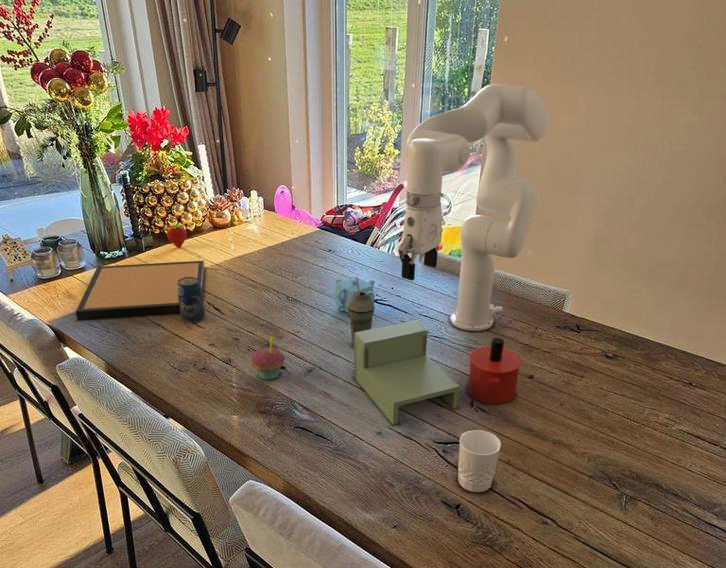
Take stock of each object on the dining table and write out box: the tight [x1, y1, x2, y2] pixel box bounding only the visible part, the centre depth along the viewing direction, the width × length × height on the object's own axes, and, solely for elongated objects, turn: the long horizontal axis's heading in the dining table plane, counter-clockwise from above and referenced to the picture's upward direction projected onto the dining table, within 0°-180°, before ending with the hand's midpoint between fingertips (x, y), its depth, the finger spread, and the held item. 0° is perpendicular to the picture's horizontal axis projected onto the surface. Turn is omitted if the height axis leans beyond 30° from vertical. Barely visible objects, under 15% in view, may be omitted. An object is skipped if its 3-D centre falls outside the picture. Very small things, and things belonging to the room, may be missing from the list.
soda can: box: [176, 277, 206, 324], centre depth 184 cm, size 7×7×12 cm
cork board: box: [75, 260, 206, 321], centre depth 202 cm, size 36×3×35 cm
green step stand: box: [353, 319, 460, 425], centre depth 151 cm, size 22×17×13 cm
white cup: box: [457, 429, 502, 493], centre depth 124 cm, size 8×8×10 cm
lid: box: [468, 337, 522, 374], centre depth 149 cm, size 12×12×6 cm
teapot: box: [334, 276, 376, 314], centre depth 190 cm, size 18×14×10 cm
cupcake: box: [250, 334, 286, 380], centre depth 157 cm, size 9×8×12 cm
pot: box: [467, 363, 520, 405], centre depth 153 cm, size 11×17×8 cm
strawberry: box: [166, 222, 188, 249], centre depth 234 cm, size 6×8×10 cm
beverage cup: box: [347, 276, 375, 348], centre depth 169 cm, size 7×7×20 cm
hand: (419, 272), depth 147 cm, fingers open, 9 cm apart
